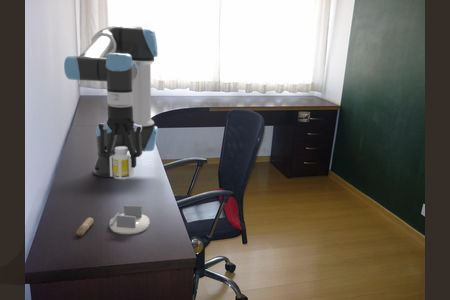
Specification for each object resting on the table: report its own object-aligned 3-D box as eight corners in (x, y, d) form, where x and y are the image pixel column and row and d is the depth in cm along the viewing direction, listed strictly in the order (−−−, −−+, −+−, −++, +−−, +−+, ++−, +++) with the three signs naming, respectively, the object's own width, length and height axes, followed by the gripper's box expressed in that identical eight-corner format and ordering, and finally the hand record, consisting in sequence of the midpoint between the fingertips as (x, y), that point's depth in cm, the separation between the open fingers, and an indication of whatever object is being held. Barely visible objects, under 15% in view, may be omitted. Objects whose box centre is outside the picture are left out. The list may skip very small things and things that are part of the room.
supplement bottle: (132, 174, 123) (131, 146, 120) (128, 180, 118) (127, 150, 115) (115, 173, 123) (115, 145, 120) (111, 179, 118) (110, 149, 115)
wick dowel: (85, 220, 124) (90, 216, 123) (90, 225, 124) (95, 221, 124) (74, 232, 116) (79, 227, 116) (80, 237, 117) (85, 233, 116)
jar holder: (117, 214, 131) (116, 201, 130) (153, 217, 131) (153, 203, 129) (103, 232, 119) (103, 218, 117) (143, 235, 118) (143, 221, 117)
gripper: (85, 105, 111) (89, 177, 117) (146, 109, 110) (146, 182, 116) (95, 101, 118) (98, 170, 124) (152, 105, 117) (152, 174, 123)
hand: (122, 175), depth 120 cm, fingers closed on supplement bottle, 5 cm apart
